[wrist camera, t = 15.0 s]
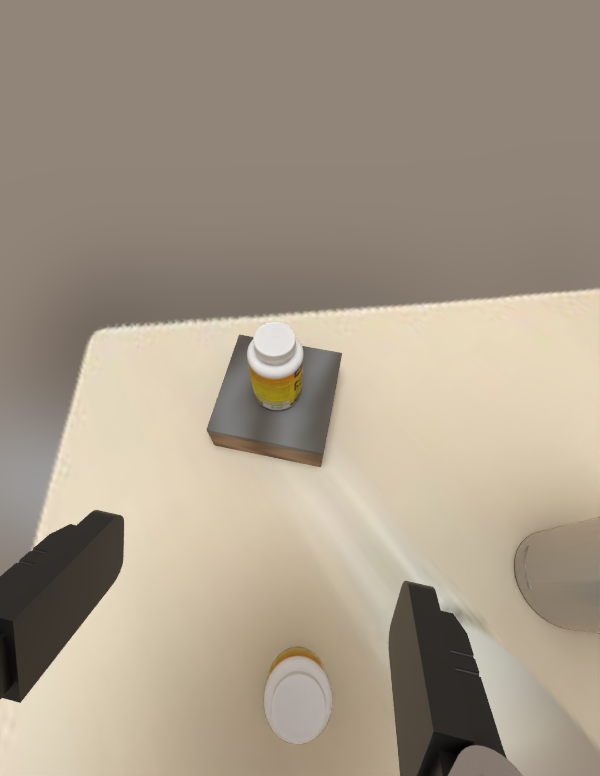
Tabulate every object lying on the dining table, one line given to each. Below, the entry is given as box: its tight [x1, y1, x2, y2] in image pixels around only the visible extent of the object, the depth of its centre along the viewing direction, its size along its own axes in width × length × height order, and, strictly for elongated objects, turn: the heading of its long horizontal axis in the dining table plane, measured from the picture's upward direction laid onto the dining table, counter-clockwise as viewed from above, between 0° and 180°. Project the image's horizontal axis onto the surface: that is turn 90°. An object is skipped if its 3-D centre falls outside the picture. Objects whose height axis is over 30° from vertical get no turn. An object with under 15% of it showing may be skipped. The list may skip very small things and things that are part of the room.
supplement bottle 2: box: [264, 647, 332, 744], centre depth 32 cm, size 5×5×10 cm
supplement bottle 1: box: [247, 322, 304, 410], centre depth 40 cm, size 6×6×10 cm
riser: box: [207, 335, 342, 467], centre depth 47 cm, size 13×13×5 cm
